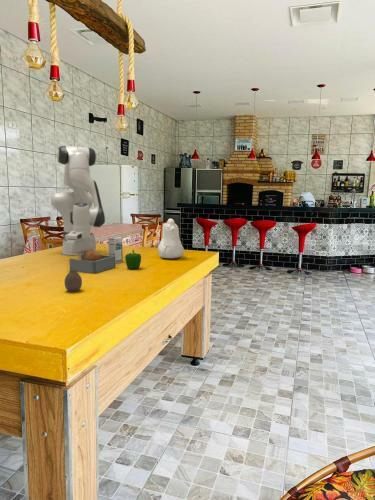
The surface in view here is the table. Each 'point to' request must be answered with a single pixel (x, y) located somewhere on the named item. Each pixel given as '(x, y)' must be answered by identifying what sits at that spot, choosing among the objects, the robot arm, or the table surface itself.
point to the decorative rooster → (170, 241)
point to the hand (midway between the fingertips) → (82, 260)
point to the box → (93, 264)
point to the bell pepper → (133, 260)
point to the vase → (73, 281)
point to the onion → (91, 255)
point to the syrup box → (115, 248)
